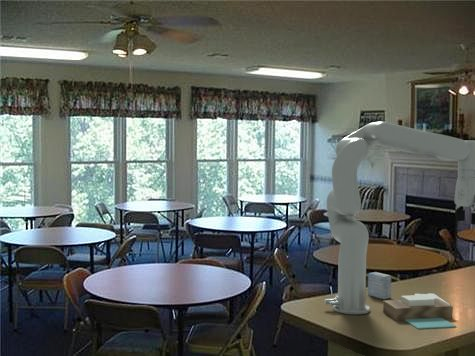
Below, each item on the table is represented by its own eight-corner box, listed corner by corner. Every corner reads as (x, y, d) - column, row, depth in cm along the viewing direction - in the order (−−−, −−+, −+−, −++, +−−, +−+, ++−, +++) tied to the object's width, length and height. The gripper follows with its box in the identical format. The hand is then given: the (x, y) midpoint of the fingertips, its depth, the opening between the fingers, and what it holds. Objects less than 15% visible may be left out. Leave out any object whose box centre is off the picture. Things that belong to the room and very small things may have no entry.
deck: (395, 320, 186) (395, 308, 185) (383, 312, 196) (383, 300, 195) (452, 318, 189) (452, 306, 189) (437, 309, 199) (437, 298, 198)
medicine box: (391, 298, 214) (391, 275, 214) (383, 299, 212) (383, 276, 211) (375, 293, 221) (375, 271, 220) (367, 295, 218) (367, 273, 218)
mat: (417, 329, 177) (417, 327, 177) (404, 320, 186) (404, 319, 186) (456, 327, 179) (456, 325, 179) (441, 318, 188) (441, 317, 188)
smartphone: (452, 309, 201) (434, 297, 217) (452, 305, 201) (434, 293, 217) (428, 310, 201) (411, 297, 217) (428, 305, 201) (411, 293, 217)
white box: (408, 306, 188) (409, 300, 188) (401, 301, 194) (401, 295, 194) (434, 305, 190) (434, 299, 190) (425, 300, 196) (425, 294, 196)
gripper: (446, 173, 210) (445, 219, 211) (472, 176, 193) (471, 225, 194) (465, 173, 211) (464, 219, 212) (493, 176, 194) (491, 225, 195)
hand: (467, 222), depth 203 cm, fingers open, 9 cm apart
